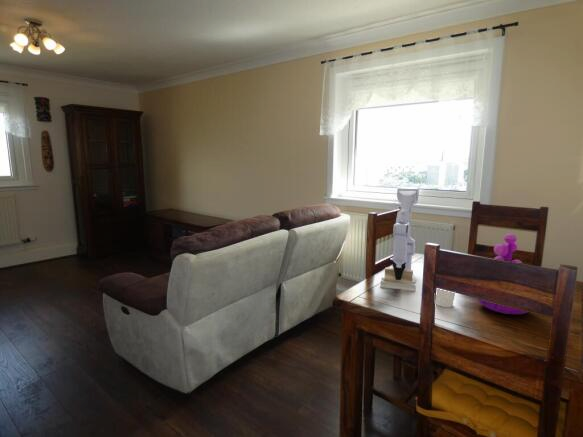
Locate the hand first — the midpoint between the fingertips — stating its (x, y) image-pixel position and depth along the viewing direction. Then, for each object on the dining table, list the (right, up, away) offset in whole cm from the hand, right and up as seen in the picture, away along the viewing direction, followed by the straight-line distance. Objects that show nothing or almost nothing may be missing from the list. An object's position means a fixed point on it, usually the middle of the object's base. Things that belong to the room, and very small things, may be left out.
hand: (398, 278), depth 154 cm
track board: (0, -4, +1) cm, 4 cm away
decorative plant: (+33, -8, -24) cm, 41 cm away
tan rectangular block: (0, -3, 0) cm, 3 cm away
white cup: (+12, -7, -19) cm, 23 cm away
